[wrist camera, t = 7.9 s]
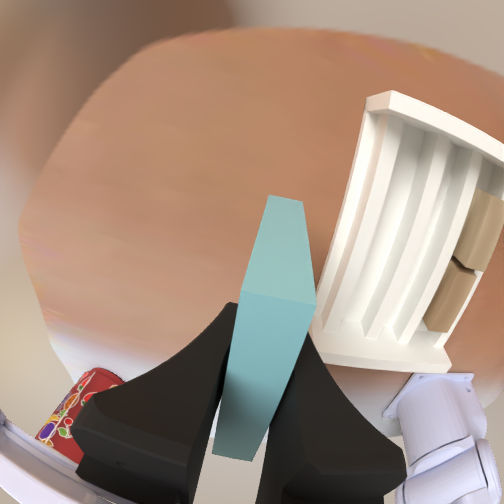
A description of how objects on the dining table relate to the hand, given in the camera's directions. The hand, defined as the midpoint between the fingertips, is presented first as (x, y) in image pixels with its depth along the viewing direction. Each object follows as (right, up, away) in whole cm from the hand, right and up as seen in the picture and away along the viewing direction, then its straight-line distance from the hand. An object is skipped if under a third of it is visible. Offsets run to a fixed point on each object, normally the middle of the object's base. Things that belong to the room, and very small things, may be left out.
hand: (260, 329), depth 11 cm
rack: (+11, +4, +8) cm, 15 cm away
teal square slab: (+1, +2, +4) cm, 5 cm away
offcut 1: (+14, +1, +8) cm, 17 cm away
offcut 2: (+15, +5, +6) cm, 17 cm away
